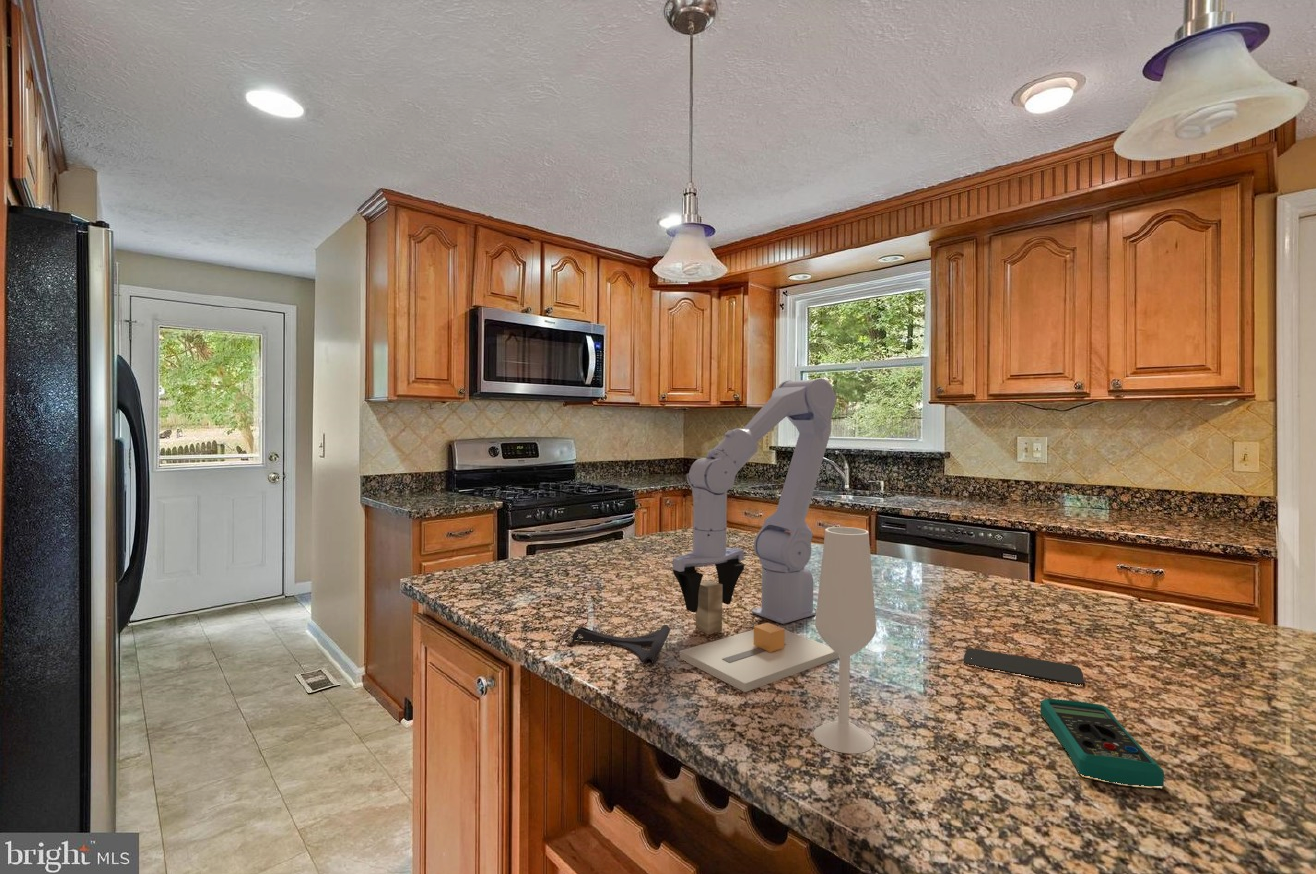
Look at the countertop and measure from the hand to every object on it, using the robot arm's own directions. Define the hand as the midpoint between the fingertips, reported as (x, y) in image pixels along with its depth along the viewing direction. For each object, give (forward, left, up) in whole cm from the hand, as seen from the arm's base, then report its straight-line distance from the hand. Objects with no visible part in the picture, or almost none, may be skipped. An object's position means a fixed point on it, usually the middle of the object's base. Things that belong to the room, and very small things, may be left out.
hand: (708, 606), depth 106 cm
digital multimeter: (-10, +54, -5) cm, 55 cm away
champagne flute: (+11, +36, -4) cm, 38 cm away
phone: (-27, +39, -5) cm, 48 cm away
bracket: (+16, -4, -5) cm, 17 cm away
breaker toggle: (0, +14, -3) cm, 14 cm away
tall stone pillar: (0, 0, -4) cm, 4 cm away
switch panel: (+2, +14, -4) cm, 15 cm away
